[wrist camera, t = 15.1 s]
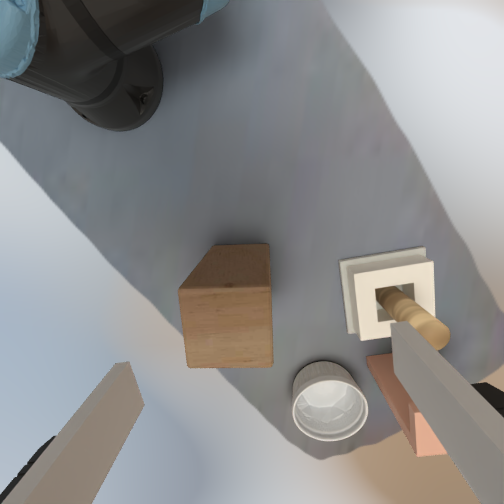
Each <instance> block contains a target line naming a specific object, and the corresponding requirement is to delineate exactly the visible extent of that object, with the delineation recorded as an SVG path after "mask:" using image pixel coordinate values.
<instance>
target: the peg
mask: <svg viewBox="0 0 504 504" xmlns="http://www.w3.org/2000/svg"><path fill="white" fill-rule="evenodd" d="M375 296H376V301H377V302H378V303H379V304H380V305H381V306H382V307H383V308H384V309H385V310H386V311H387V313H388V314H389V315H390V316H391V317H392V318H393V319H394V320H395V321H396V322H402V321H408V322H409V323H410V324H411V325H412V326H413V327H414V328H415V329H416V330H417V331H418V332H419V333H420V334H421V335H422V336H423V337H424V338H425V339H426V340H427V341H428V342H429V343H430V344H431V345H432V346H433V347H434V348H435V349H436V350H440V349H442V348H443V347H444V346H446V344H447V343H448V342H449V339H450V331H449V329H448V327H447V326H445V325H444V324H443V323H442V322H440V321H439V320H438V319H436V318H435V317H434V316H433V315H431V314H430V313H429V312H428V311H426V310H425V309H424V308H422V307H421V306H420V305H419V304H417V303H416V302H415V301H414V300H412V299H411V298H410V297H408V296H407V295H406V294H405V293H403V292H402V291H401V290H399V289H398V288H397V287H396V286H389V287H382V288H376V289H375Z"/></svg>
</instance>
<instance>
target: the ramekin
mask: <svg viewBox="0 0 504 504" xmlns="http://www.w3.org/2000/svg"><path fill="white" fill-rule="evenodd" d="M292 415H293V419H294V422H295V424H296V425H297V427H298V428H299V429H300V430H301V431H302V432H303V433H305V434H306V435H308V436H310V437H312V438H314V439H318V440H322V441H337V440H342V439H345V438H347V437H350V436H351V435H353V434H355V433H356V432H357V431H358V430H359V429H360V428H361V427H362V426H363V425H364V423H365V421H366V418H367V415H368V405H367V401H366V398H365V396H364V394H363V392H362V390H361V389H360V388H359V387H358V386H357V384H356V383H355V381H354V380H353V378H352V377H351V375H350V374H349V373H348V372H347V370H345V369H344V368H343V367H341V366H340V365H338V364H336V363H332V362H326V361H321V362H315V363H312V364H309V365H307V366H306V367H304V368H303V369H302V370H301V371H300V372H299V373H298V374H297V376H296V378H295V380H294V384H293V400H292Z"/></svg>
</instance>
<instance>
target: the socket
mask: <svg viewBox="0 0 504 504" xmlns="http://www.w3.org/2000/svg"><path fill="white" fill-rule="evenodd" d="M338 261H339V269H340V278H341V286H342V294H343V302H344V311H345V319H346V327H347V332H348V334H352V333H357V335H358V337H359V338H360V340H361V341H363V340H370V339H378V338H385V337H391V328H390V323H395V322H396V321H395V320H394V319H393V318H392V317H391V316H390V315H389V314H388V313H387V311H386V310H385V309H384V308H383V307H382V306H381V305H380V304H379V303H378V302H377V301H376V296H375V289H376V288H382V287H389V286H396V287H397V288H398V289H399V290H401V291H402V292H403V293H405V294H406V295H407V296H408V297H410V298H411V299H412V300H414V301H415V302H416V303H417V304H419V305H420V306H421V307H422V308H424V309H425V310H426V311H428V312H429V313H430V314H431V315H433V316H434V317H435V295H434V264H433V261H432V260H430V259H428V258H426V254H425V247H423V246H420V247H414V248H408V249H402V250H396V251H390V252H384V253H378V254H372V255H366V256H360V257H354V258H348V259H343V260H338Z"/></svg>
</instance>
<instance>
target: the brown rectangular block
mask: <svg viewBox="0 0 504 504" xmlns="http://www.w3.org/2000/svg"><path fill="white" fill-rule="evenodd" d="M366 359H367V366H368V368H369V370H370V371H371V373H372V375H373V377H374V379H375V381H376V382H377V384H378V386H379V388H380V390H381V392H382V393H383V395H384V397H385V399H386V401H387V403H388V404H389V406H390V408H391V410H392V412H393V413H394V415H395V417H396V419H397V421H398V423H399V424H400V426H401V428H402V430H403V432H404V434H405V435H406V437H407V439H408V441H409V443H410V445H411V446H412V448H413V450H414V452H415V454H416V455H417V457H420V456H430V455H440V454H448V453H447V452H446V450H445V449H444V447H443V445H442V444H441V442H440V441H439V439H438V438H437V436H436V435H435V433H434V432H433V430H432V429H431V427H430V426H429V424H428V423H427V421H426V420H425V418H424V417H423V415H422V414H421V412H420V411H419V409H418V408H417V406H416V405H415V403H414V402H413V400H412V399H411V397H410V396H409V394H408V393H407V391H406V390H405V388H404V387H403V385H402V384H401V382H400V381H399V379H398V378H397V376H396V375H395V373H394V365H393V353H388V354H381V355H373V356H366Z"/></svg>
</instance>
